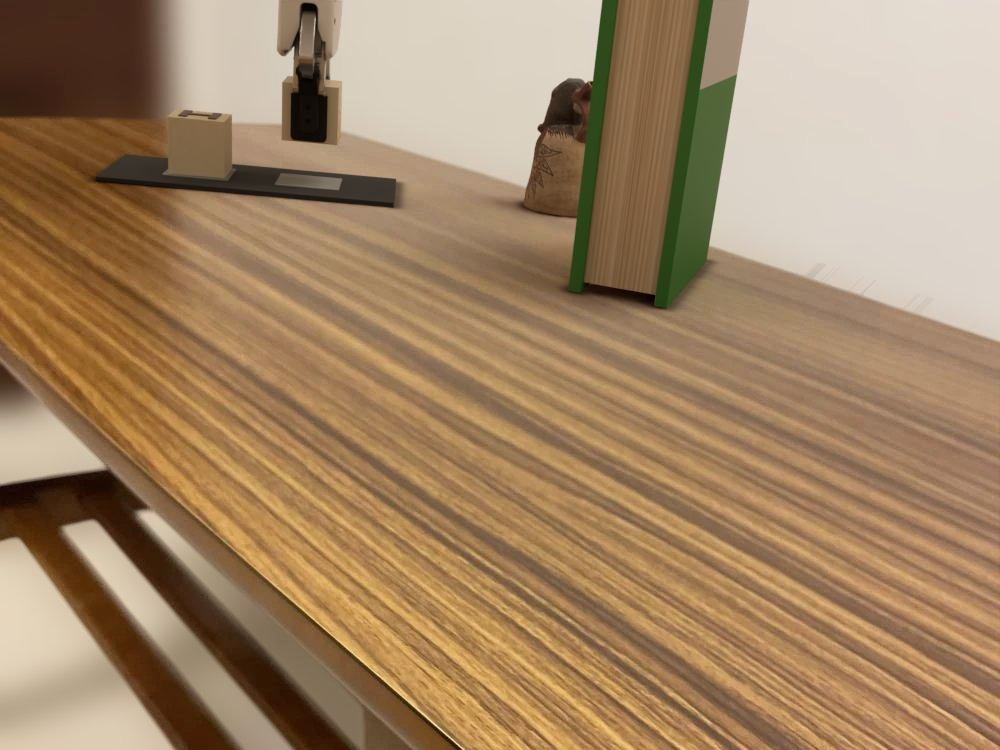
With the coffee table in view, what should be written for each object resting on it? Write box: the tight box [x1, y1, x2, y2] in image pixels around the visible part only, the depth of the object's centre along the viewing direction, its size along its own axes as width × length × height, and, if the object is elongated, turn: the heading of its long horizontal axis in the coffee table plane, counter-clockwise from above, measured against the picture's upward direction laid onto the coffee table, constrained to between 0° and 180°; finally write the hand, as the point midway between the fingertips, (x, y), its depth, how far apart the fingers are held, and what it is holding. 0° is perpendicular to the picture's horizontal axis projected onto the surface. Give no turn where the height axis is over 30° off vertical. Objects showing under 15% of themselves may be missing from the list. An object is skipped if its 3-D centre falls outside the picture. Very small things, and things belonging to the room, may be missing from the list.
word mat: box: [95, 153, 397, 208], centre depth 115 cm, size 26×12×1 cm, turn 95°
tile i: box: [281, 75, 343, 146], centre depth 113 cm, size 5×5×5 cm
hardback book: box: [567, 0, 750, 309], centre depth 93 cm, size 18×7×24 cm, turn 163°
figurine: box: [523, 77, 593, 218], centre depth 116 cm, size 7×7×12 cm
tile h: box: [166, 108, 233, 179], centre depth 113 cm, size 5×5×5 cm
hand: (311, 133), depth 114 cm, fingers closed on tile i, 5 cm apart
